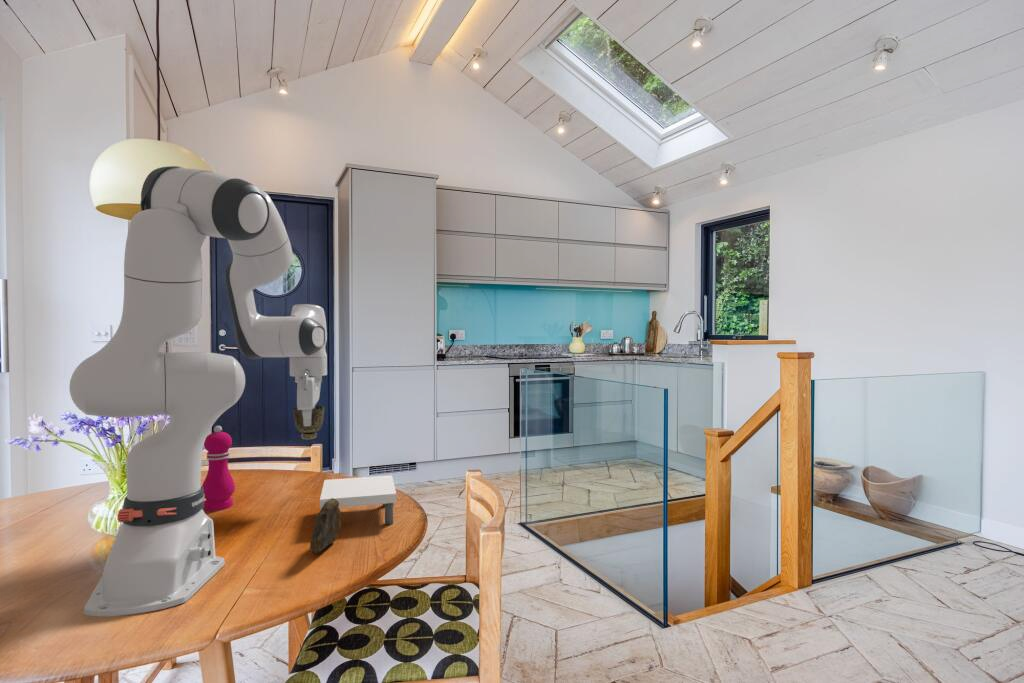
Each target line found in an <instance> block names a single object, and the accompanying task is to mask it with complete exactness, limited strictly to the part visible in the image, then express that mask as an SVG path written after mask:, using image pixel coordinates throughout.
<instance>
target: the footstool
mask: <svg viewBox="0 0 1024 683" xmlns="http://www.w3.org/2000/svg"><path fill="white" fill-rule="evenodd" d="M331 498H334V499H336V500H337V501H338V502H339V506H338V508H348V507H360V506H373V505H382V507H384V525H387V526H388V525H389V526H390V525H393V524H394V504H395V503H396V504H397V490H396V486H395V482H394V478H393V475H392V474H391V475H377V476H375V475H374V476H363V477H346V478H334V479H333V478H332V479H324V481H323V485H322V490H321V494H320V498H319V509H320V510H321V509H322V507H323V505H324V504H325V502H327V501H328V500H329V499H331Z"/></svg>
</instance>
